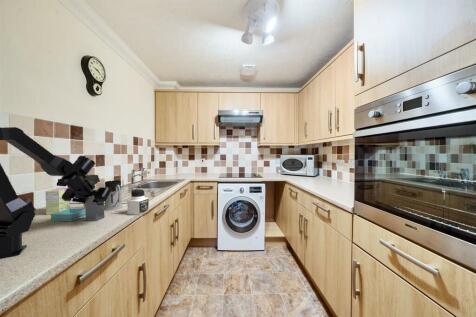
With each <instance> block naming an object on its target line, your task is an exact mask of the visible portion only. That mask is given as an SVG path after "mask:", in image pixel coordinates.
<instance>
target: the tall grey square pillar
mask: <svg viewBox="0 0 476 317" xmlns="http://www.w3.org/2000/svg"><path fill="white" fill-rule="evenodd" d="M93 200H94V196H91V197H88V198H85V212H86V216H85V222H97V221H99V220H102V219H103V218H105V210H104V208H105V203H104V204H103V205H100V204H97V203H95V202H93Z"/></svg>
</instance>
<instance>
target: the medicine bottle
mask: <svg viewBox="0 0 476 317" xmlns="http://www.w3.org/2000/svg"><path fill="white" fill-rule="evenodd" d="M145 194H146V191H145V189H143V188H135V189H132V190H131V194H130V195H131V198H130V199H128V200H127V202H126V204H127V205H126V206H127V208H126V210H127V215H135V216H140V215H143V214H145V213H147V212H149V211H150V210H149V208H150V207H149V197H145Z"/></svg>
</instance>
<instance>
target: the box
mask: <svg viewBox="0 0 476 317" xmlns="http://www.w3.org/2000/svg"><path fill="white" fill-rule="evenodd" d="M67 188H68V187H57V188H53V189H50V190H46V191H45V216H46V215H50V216H51V214H53V213H56V212H60V211H63V210H66V209H69V208H71V207H70V206H71V204H70V202H71V201H64V200H63V199H62V195H63V194H64V192H65V191H66V190H67Z"/></svg>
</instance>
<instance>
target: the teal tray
mask: <svg viewBox="0 0 476 317" xmlns="http://www.w3.org/2000/svg"><path fill="white" fill-rule="evenodd" d="M83 217H86V212H85V209H84V208H75V207H73V208H71V207H70V208H69V209H66V210H63V211H60V212H56V213H53V214H50V221H51V222H73V221H75V220H78V219H81V218H83Z"/></svg>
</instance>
